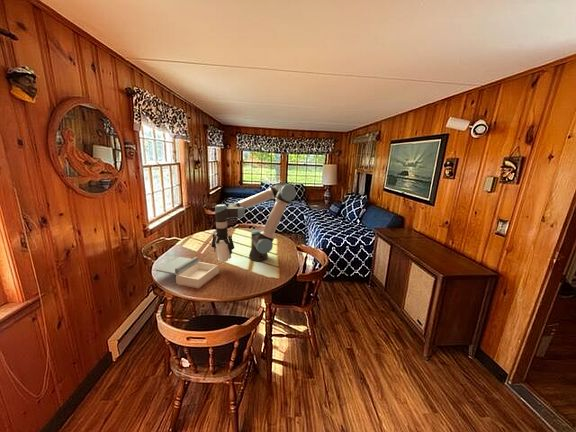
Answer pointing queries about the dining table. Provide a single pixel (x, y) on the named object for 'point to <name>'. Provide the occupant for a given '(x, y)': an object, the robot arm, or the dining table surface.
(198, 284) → the box
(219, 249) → the foam cup
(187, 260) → the lid
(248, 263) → the dining table surface
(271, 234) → the robot arm
